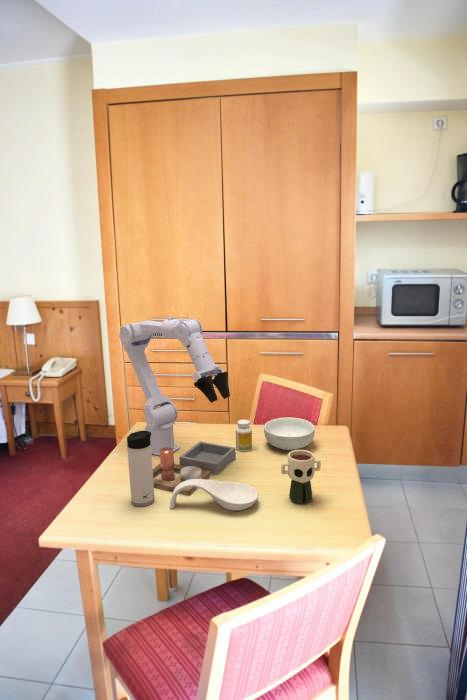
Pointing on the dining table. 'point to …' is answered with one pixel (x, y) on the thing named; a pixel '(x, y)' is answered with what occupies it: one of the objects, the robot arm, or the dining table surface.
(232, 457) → the tray
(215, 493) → the spoon rest
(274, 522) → the dining table surface
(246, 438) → the supplement bottle
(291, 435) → the cereal bowl
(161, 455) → the reddish brown cylinder
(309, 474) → the character mug
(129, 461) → the travel mug
